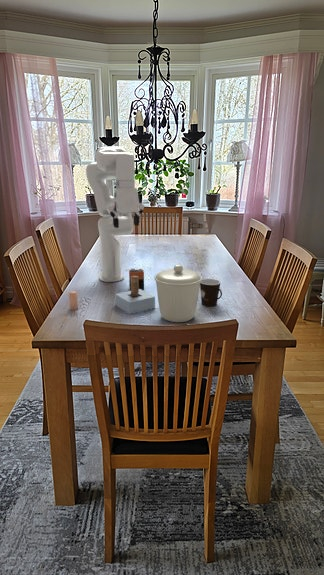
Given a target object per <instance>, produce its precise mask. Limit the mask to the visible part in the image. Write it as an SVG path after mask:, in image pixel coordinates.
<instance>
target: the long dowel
mask: <svg viewBox="0 0 324 575" xmlns="http://www.w3.org/2000/svg"><path fill="white" fill-rule="evenodd" d="M131 297H132V298H135V297H139V281H138V276H131Z"/></svg>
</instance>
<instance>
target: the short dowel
mask: <svg viewBox="0 0 324 575" xmlns="http://www.w3.org/2000/svg"><path fill="white" fill-rule="evenodd" d="M68 299H69V300H68V301H69V310H70V311H76V310H78V309H79V307H78V306H79V304H78V292H77V291H76V290H72V291H68Z"/></svg>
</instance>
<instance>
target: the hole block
mask: <svg viewBox="0 0 324 575" xmlns="http://www.w3.org/2000/svg"><path fill="white" fill-rule="evenodd" d="M114 298H115V300H114V301H115V302H114V303H115V306H116V307H118V308H119V309H120V310H122V311H124V312H125V311H126V312H125V313H127V314H128V313H129V315H132V314H131V313H133V314H137V313H141V312H145V311H149V310H148V309H150V310H153V309H152V308H154V309H156V296H154V295H152V294H150V293H148V292H147V291H145V290H141V289H139V297H135V298H132V297H131V291H130V290H128V291H124V292H119V293H118V292H117V293H115V294H114ZM144 310H145V311H144ZM140 311H141V312H140ZM136 312H137V313H136Z"/></svg>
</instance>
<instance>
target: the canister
mask: <svg viewBox="0 0 324 575" xmlns="http://www.w3.org/2000/svg"><path fill="white" fill-rule="evenodd" d="M201 280H203V276H202V275H201V274H199V273H197V271H194V270H190V269H186V268H184V267H183V265H181V264H175V265H174V267H173V268H172V269H171V268H170V269H165V270H162V271H159V272H158V273H156V274H155V275H154V281H155V284H156V291H157V292H156V293H157V300H158V308H159V313H160V316H161V317H162V318H163V319H164V320H165V321H168V322H172V323H185V322H188V321H191V319H193V318H194V316H195V315H196V312H197V305H198V300H199V294H200V281H201Z"/></svg>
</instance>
